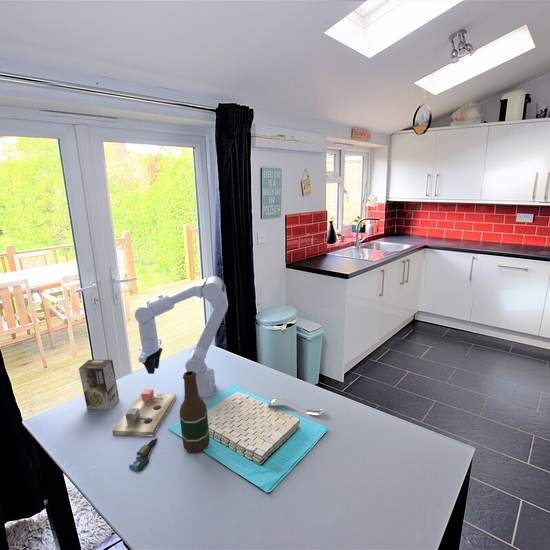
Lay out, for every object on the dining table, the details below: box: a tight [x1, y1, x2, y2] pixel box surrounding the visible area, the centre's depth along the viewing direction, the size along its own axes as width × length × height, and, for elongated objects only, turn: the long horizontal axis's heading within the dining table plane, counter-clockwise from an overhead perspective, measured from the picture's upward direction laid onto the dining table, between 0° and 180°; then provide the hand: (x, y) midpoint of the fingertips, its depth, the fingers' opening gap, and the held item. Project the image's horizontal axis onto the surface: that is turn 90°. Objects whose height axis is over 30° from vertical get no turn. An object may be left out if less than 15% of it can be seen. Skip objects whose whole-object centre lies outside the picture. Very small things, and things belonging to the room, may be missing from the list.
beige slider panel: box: [112, 393, 177, 436], centre depth 121 cm, size 13×20×5 cm, turn 174°
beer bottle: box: [179, 371, 210, 455], centre depth 104 cm, size 8×8×24 cm
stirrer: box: [268, 396, 325, 416], centre depth 122 cm, size 20×4×5 cm
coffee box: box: [78, 359, 120, 410], centre depth 127 cm, size 9×6×16 cm
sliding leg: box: [140, 388, 163, 402], centre depth 127 cm, size 7×3×3 cm, turn 84°
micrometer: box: [128, 437, 158, 473], centre depth 104 cm, size 12×2×5 cm
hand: (153, 370), depth 132 cm, fingers open, 3 cm apart
